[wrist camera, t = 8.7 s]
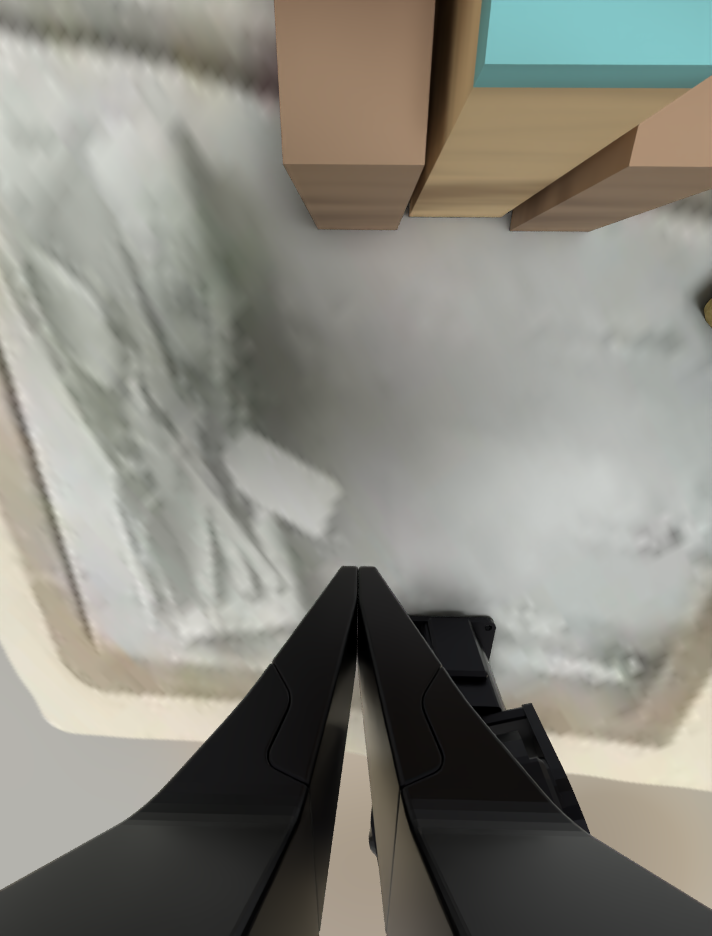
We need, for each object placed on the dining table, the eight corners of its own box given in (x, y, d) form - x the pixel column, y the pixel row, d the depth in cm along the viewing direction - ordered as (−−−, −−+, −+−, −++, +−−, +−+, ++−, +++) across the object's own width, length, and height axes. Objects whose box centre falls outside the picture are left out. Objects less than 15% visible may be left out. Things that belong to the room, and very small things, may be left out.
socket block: (589, 231, 16) (773, 167, 9) (318, 229, 17) (282, 164, 9) (645, -30, 13) (997, -452, 6) (311, -30, 13) (250, -444, 6)
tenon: (500, 217, 16) (726, 65, 6) (409, 216, 16) (484, 64, 6) (526, 26, 14) (961, -723, 4) (419, 26, 14) (568, -713, 4)
